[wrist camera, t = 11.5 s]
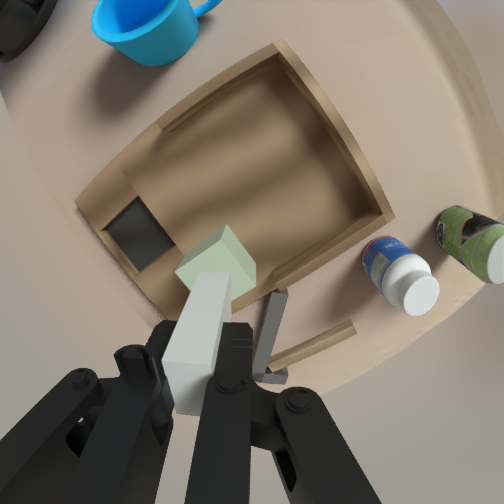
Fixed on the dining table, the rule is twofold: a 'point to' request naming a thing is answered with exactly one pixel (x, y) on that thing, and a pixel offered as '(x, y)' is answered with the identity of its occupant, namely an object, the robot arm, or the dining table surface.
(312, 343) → the dowel
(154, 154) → the cubby deck
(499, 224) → the beverage can
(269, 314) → the crook tool
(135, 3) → the mug
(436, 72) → the dining table surface
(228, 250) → the block
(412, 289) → the pill bottle
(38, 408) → the robot arm
